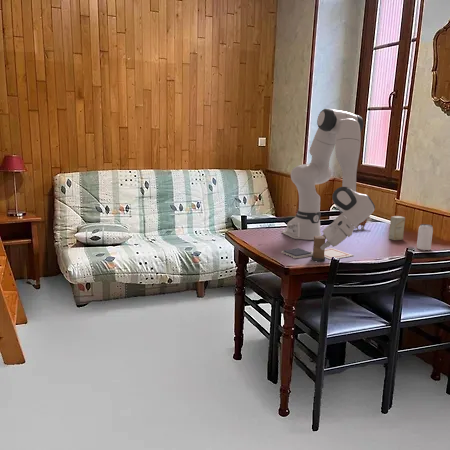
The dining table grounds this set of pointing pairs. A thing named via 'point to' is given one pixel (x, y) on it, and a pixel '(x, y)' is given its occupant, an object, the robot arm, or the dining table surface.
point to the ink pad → (297, 253)
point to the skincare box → (396, 228)
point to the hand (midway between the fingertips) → (319, 245)
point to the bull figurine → (363, 223)
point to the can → (424, 237)
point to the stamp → (318, 249)
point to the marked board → (335, 253)
